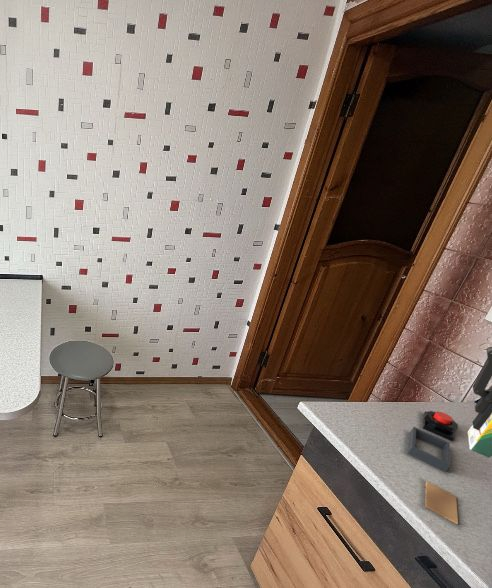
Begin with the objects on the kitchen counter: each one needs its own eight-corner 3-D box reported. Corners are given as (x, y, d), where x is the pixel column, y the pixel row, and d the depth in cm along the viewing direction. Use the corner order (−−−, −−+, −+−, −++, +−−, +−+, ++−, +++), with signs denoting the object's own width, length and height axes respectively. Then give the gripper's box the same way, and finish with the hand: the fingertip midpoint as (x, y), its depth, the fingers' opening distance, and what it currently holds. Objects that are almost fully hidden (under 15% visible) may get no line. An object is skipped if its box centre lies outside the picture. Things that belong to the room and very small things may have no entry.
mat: (455, 497, 76) (456, 496, 76) (457, 524, 70) (458, 523, 70) (425, 482, 79) (426, 481, 79) (425, 506, 73) (426, 505, 73)
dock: (444, 449, 89) (449, 442, 88) (445, 472, 82) (451, 465, 81) (409, 433, 94) (413, 426, 93) (407, 453, 87) (412, 446, 86)
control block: (422, 413, 102) (427, 406, 101) (451, 425, 98) (457, 418, 97) (421, 428, 96) (426, 420, 95) (453, 442, 92) (458, 434, 91)
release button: (432, 414, 98) (435, 409, 98) (449, 421, 96) (453, 416, 95) (432, 419, 96) (435, 415, 95) (450, 427, 94) (453, 422, 93)
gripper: (500, 321, 61) (434, 417, 71) (656, 362, 51) (555, 468, 60) (495, 310, 66) (434, 401, 76) (636, 346, 56) (546, 446, 65)
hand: (488, 431), depth 68 cm, fingers closed on crayon box, 3 cm apart
